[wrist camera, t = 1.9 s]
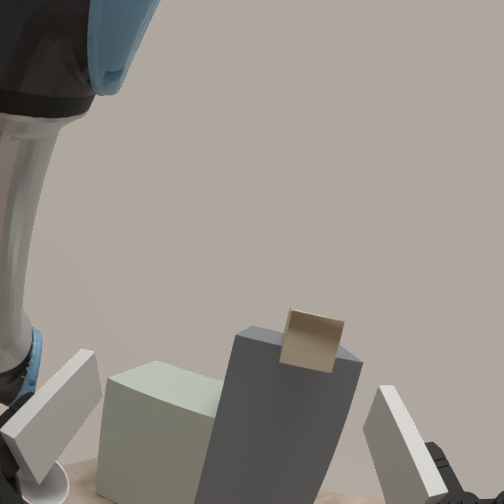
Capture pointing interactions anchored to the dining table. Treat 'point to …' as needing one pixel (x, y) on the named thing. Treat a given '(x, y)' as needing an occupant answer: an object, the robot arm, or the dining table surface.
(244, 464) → the two-tone stepped block
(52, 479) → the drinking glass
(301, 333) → the wooden bar
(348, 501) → the dining table surface
